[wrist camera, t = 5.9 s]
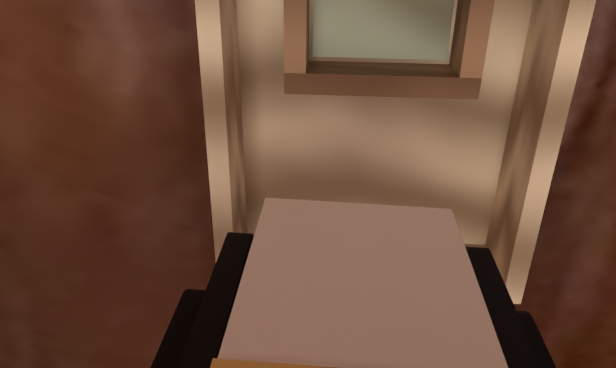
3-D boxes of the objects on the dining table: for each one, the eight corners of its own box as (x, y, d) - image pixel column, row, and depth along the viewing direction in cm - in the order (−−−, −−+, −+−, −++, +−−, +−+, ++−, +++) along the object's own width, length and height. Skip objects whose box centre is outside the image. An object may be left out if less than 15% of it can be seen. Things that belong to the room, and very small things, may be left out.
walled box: (495, 250, 32) (520, 303, 27) (234, 239, 32) (217, 290, 28) (575, -133, 23) (632, -146, 18) (212, -137, 23) (182, -150, 19)
